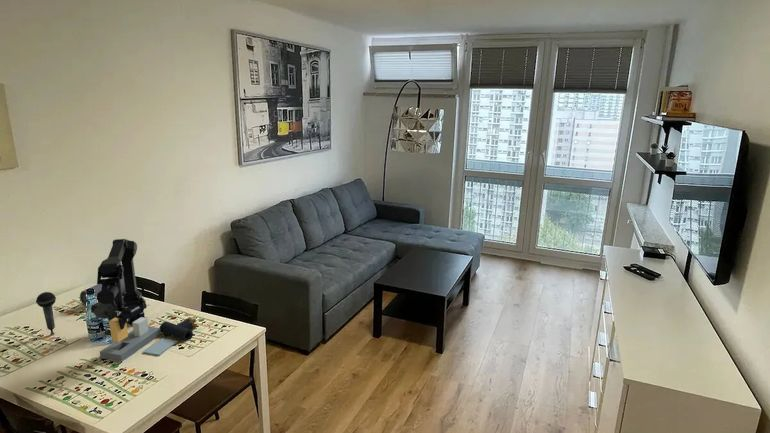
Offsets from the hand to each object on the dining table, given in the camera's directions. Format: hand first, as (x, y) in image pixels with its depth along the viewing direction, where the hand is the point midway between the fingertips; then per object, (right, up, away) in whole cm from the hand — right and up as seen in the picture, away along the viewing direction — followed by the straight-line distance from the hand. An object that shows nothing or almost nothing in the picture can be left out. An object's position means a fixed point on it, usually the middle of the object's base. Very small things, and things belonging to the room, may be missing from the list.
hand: (118, 328), depth 177 cm
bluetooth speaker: (-35, +2, +48) cm, 60 cm away
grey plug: (+2, -8, +13) cm, 16 cm away
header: (+1, -9, +8) cm, 12 cm away
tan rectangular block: (0, -4, +1) cm, 5 cm away
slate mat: (+13, -10, +7) cm, 18 cm away
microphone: (-38, -7, +14) cm, 41 cm away
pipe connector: (+17, -7, +20) cm, 27 cm away
